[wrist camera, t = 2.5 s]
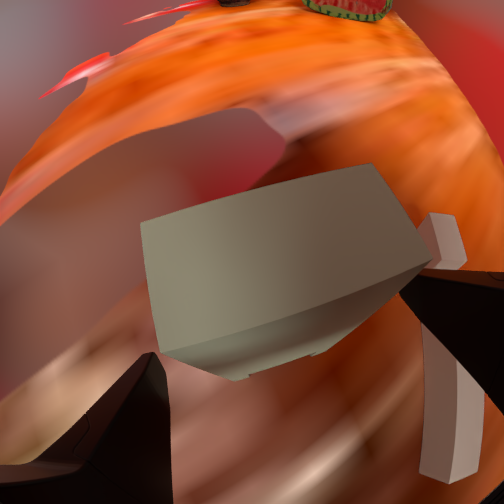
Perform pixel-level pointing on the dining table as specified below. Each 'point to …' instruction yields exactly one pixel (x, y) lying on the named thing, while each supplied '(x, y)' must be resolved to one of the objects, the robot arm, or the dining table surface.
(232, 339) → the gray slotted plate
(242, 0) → the ceramic jug
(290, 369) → the dining table surface
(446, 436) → the white rectangular bar
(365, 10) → the fruit slice
